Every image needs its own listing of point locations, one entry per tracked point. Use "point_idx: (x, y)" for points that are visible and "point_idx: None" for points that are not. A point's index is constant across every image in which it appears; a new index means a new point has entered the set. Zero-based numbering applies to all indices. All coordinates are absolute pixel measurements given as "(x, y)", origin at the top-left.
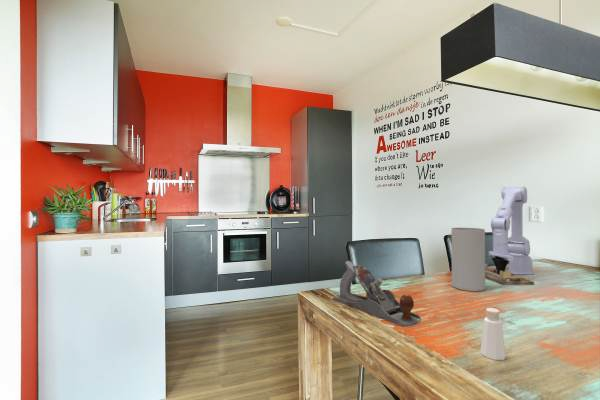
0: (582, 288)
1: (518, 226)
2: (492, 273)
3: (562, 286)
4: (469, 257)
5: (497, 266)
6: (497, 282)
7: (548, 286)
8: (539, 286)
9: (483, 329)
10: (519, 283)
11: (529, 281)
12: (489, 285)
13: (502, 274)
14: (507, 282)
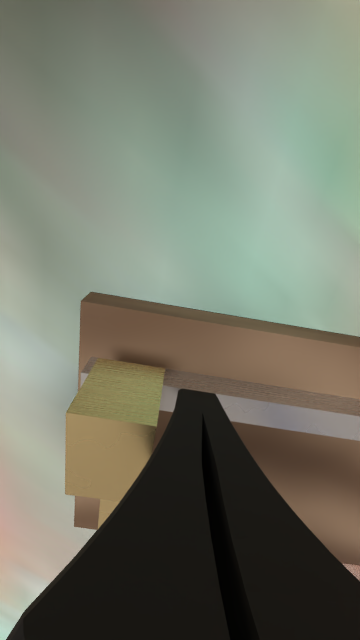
0: (4, 618)
1: None
2: (349, 420)
3: (40, 586)
4: None
5: (189, 467)
6: (164, 306)
7: (39, 540)
8: (39, 503)
9: None
10: None
11: (89, 514)
12: (80, 127)
13: (103, 383)
14: (79, 352)
